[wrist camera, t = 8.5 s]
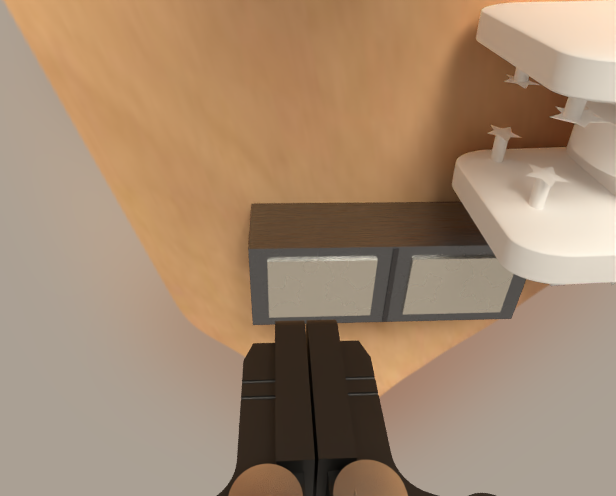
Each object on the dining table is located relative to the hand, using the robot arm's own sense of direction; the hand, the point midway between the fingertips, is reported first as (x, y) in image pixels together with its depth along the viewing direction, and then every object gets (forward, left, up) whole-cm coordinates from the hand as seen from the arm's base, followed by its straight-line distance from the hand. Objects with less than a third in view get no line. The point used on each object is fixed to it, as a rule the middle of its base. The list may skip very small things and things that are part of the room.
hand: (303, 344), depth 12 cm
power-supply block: (+10, +6, -19) cm, 22 cm away
